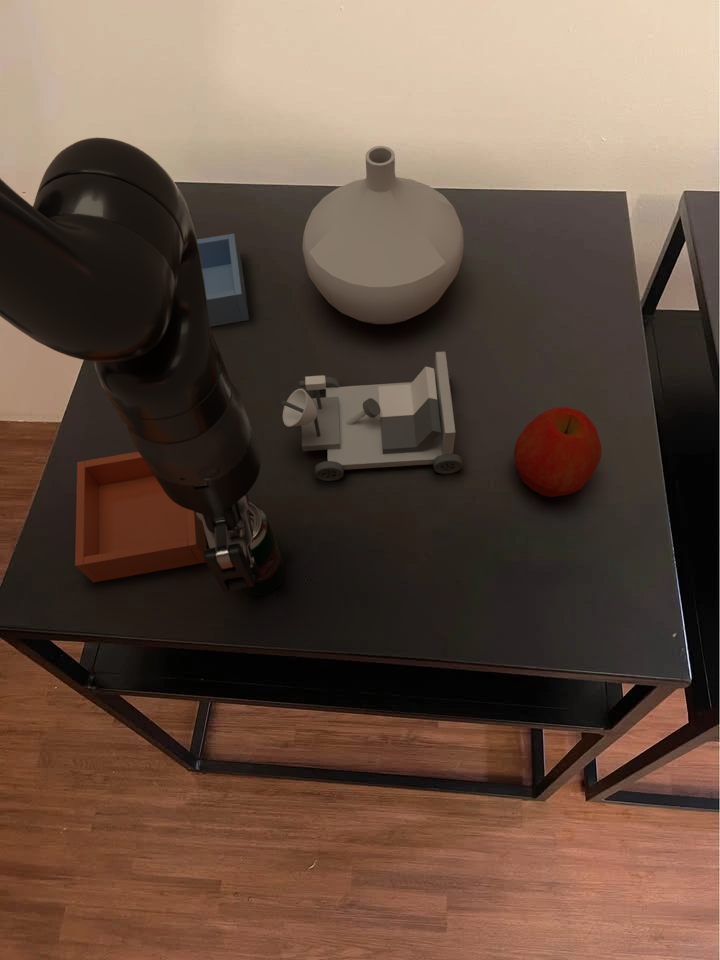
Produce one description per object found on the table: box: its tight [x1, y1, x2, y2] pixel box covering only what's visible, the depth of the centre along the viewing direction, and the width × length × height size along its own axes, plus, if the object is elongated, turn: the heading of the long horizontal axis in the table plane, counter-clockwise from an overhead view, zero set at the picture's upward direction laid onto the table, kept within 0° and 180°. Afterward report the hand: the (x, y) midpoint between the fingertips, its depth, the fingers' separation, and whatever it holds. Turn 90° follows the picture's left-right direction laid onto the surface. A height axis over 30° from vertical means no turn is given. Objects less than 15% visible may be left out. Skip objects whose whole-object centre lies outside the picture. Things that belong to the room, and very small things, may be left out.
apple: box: [513, 406, 602, 498], centre depth 70 cm, size 8×8×11 cm
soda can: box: [229, 501, 286, 596], centre depth 66 cm, size 5×5×12 cm
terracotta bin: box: [74, 450, 208, 583], centre depth 73 cm, size 12×12×5 cm
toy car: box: [281, 351, 463, 482], centre depth 74 cm, size 18×10×12 cm
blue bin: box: [197, 233, 250, 327], centre depth 88 cm, size 10×10×5 cm
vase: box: [301, 145, 465, 325], centre depth 80 cm, size 18×18×19 cm
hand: (243, 532), depth 63 cm, fingers open, 8 cm apart
